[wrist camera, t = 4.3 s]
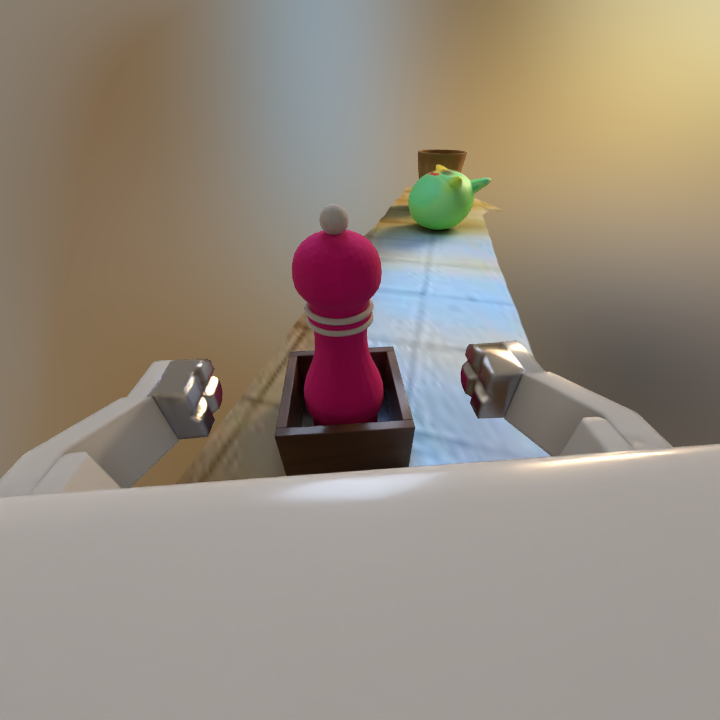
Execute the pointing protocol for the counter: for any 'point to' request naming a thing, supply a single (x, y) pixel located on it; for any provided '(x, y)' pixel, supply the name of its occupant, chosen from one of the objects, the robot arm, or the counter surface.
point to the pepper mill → (339, 321)
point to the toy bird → (443, 198)
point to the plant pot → (440, 160)
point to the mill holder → (344, 426)
